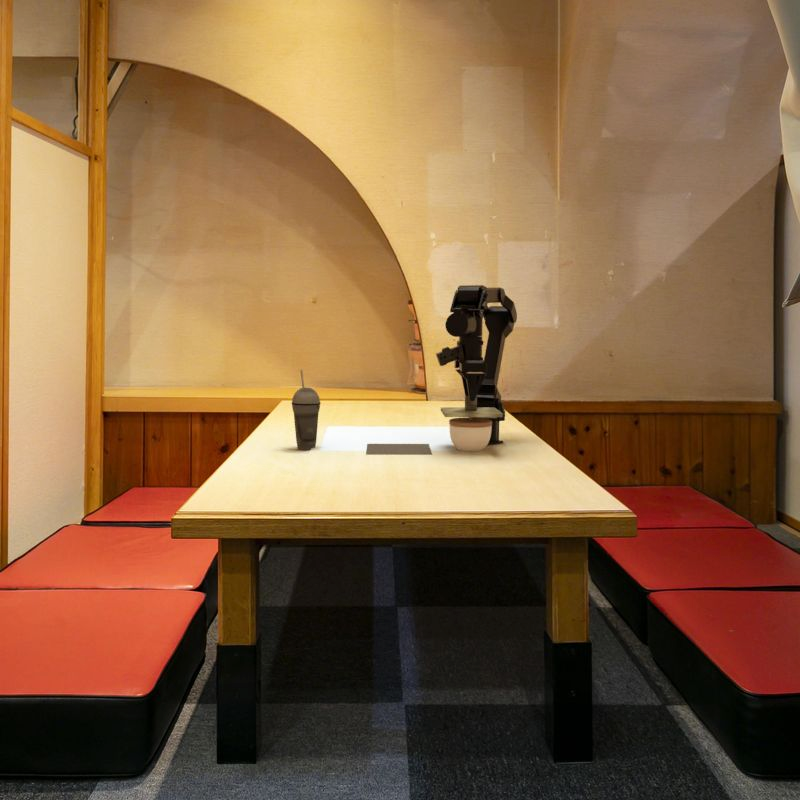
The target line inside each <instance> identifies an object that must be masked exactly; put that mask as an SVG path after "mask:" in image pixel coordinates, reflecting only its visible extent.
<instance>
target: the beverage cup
mask: <svg viewBox="0 0 800 800" xmlns="http://www.w3.org/2000/svg"><path fill="white" fill-rule="evenodd" d="M299 371H300V378H301V379H300V380H301V386H302V387H301V388H299V389H297V390H296V391H295V392H294V394H293V396H292V400H291V405H292V406H291V407H292V412H293V421H294V429H295V440H296V446H297V448H296V449H297V450H299V451H310V450H311V449H315V448H316V445H317V438H318V437H317V435H318V423H319V422H318V421H319V412H320V407H321V399H320V396H319V394H318V392H317V391H316V390H315V389H313V388H312V387H305V381H304V373H303V369H300V370H299Z"/></svg>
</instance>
